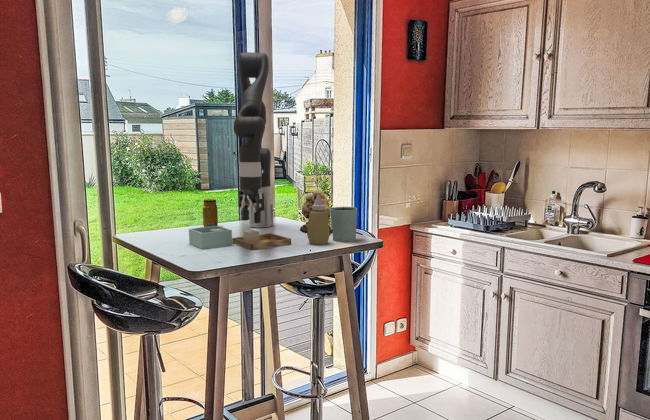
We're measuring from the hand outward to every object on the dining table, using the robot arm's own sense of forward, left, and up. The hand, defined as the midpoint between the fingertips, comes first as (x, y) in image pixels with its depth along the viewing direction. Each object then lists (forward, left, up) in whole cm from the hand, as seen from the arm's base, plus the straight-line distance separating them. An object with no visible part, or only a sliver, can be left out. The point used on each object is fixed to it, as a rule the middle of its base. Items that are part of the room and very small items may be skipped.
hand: (251, 221), depth 191 cm
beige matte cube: (0, 0, -9) cm, 9 cm away
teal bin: (+11, -10, -9) cm, 17 cm away
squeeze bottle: (-21, +11, -9) cm, 25 cm away
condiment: (-6, -45, -9) cm, 47 cm away
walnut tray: (-4, 0, -9) cm, 10 cm away
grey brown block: (+8, -10, -9) cm, 16 cm away
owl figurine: (-36, -12, -9) cm, 39 cm away
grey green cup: (-34, +9, -9) cm, 36 cm away
